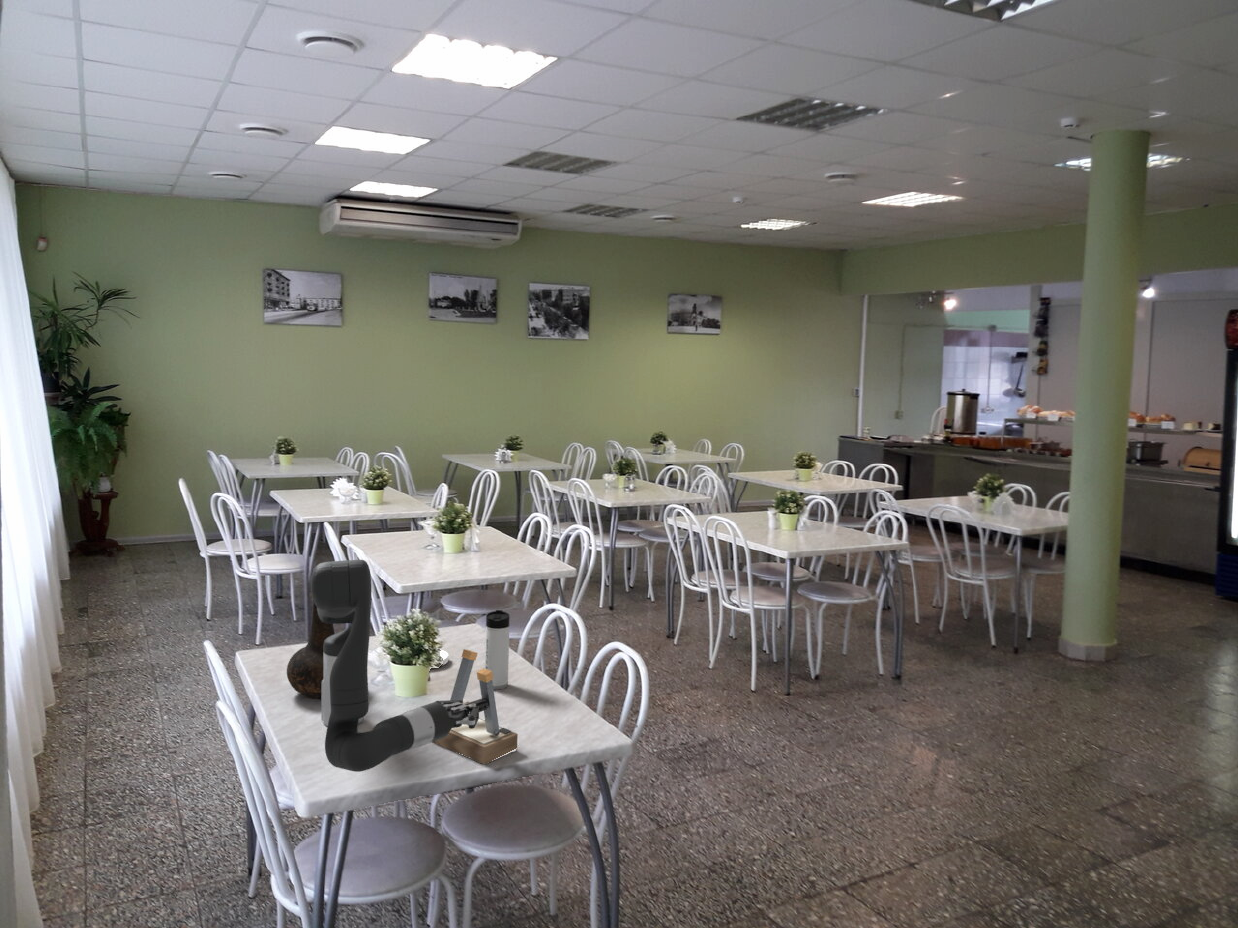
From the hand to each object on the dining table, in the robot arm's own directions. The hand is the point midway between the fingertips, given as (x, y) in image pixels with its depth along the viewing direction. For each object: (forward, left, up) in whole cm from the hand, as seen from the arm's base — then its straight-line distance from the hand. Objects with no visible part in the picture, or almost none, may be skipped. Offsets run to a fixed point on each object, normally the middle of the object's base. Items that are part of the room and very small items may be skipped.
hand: (485, 703), depth 200 cm
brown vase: (-58, -2, -13) cm, 59 cm away
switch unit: (-7, +3, -12) cm, 15 cm away
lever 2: (0, +3, -8) cm, 8 cm away
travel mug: (-31, +33, -13) cm, 47 cm away
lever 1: (-14, +3, -8) cm, 16 cm away
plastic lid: (-59, +30, -13) cm, 68 cm away
